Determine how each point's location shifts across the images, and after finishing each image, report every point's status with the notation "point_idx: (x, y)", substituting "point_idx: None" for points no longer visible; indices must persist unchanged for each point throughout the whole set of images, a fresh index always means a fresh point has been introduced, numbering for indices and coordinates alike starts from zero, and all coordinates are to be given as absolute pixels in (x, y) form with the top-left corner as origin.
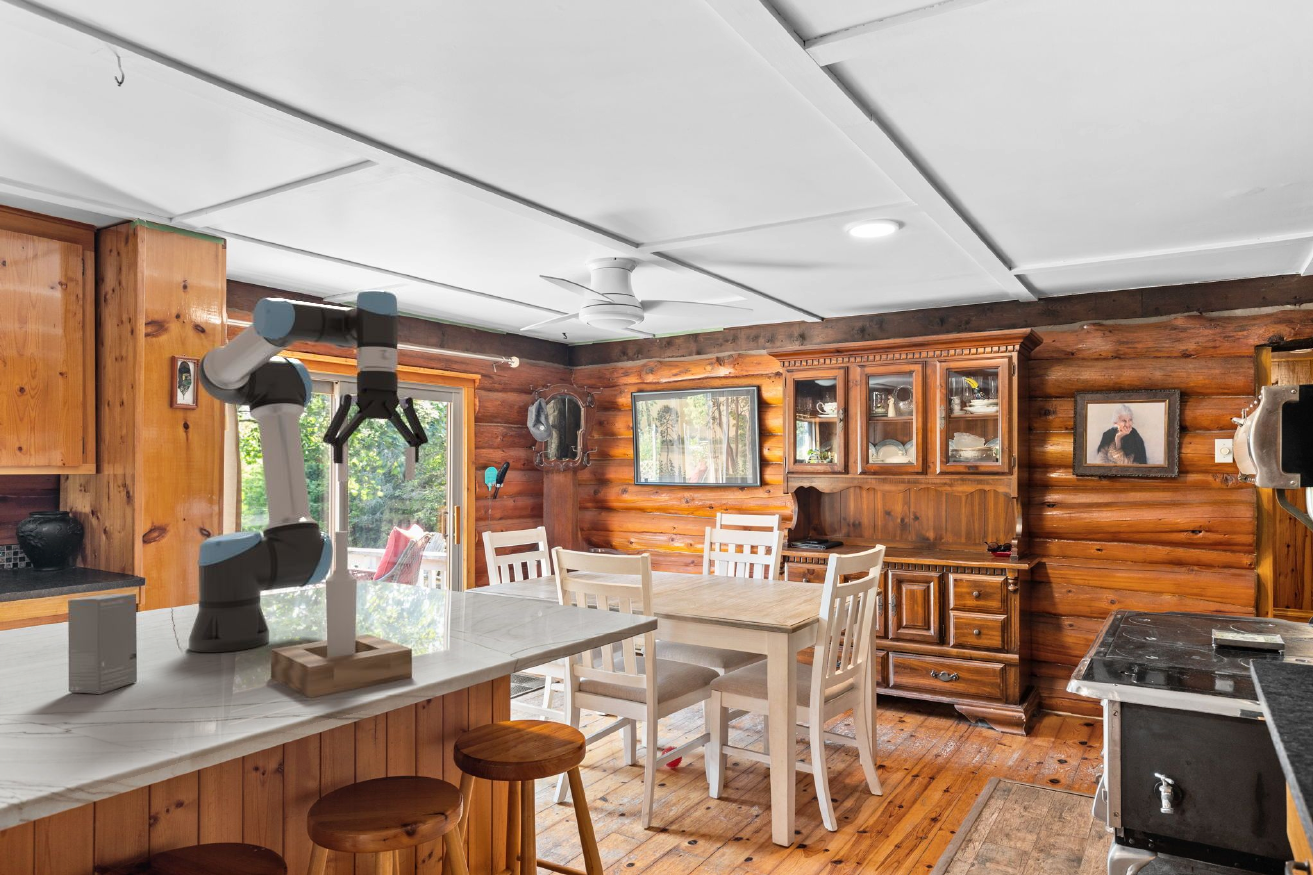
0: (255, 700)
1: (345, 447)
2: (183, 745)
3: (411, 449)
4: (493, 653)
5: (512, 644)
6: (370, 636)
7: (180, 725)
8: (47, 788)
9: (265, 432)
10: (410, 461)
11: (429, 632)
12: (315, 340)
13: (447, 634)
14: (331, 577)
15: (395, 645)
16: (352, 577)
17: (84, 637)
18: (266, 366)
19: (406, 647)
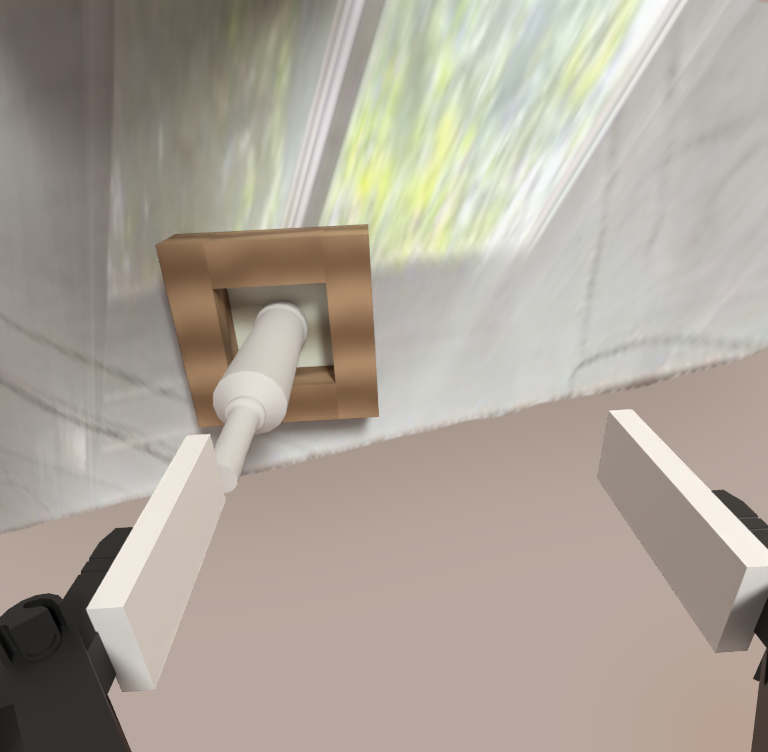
0: (139, 366)
1: (138, 685)
2: (52, 492)
3: (702, 631)
4: (565, 338)
5: (639, 297)
6: (362, 263)
7: (40, 419)
8: None
9: None
10: (652, 545)
11: (614, 19)
12: None
13: (626, 87)
14: (221, 414)
15: (367, 375)
16: (271, 426)
17: None
18: None
19: (376, 402)
